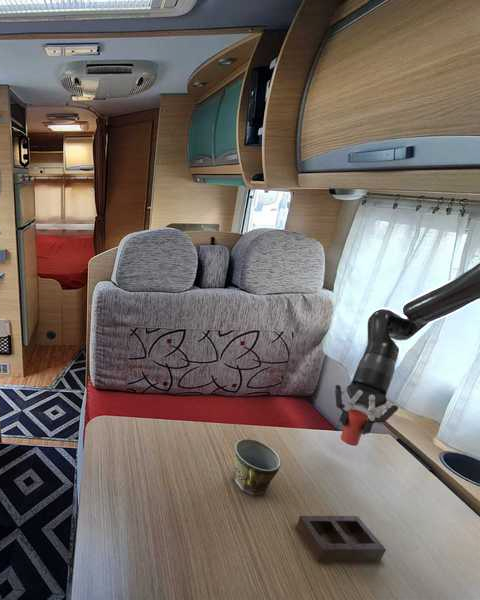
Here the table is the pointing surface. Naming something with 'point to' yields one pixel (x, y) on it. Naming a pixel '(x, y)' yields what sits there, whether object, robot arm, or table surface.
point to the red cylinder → (353, 427)
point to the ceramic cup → (255, 465)
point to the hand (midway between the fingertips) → (353, 429)
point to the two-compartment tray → (340, 539)
